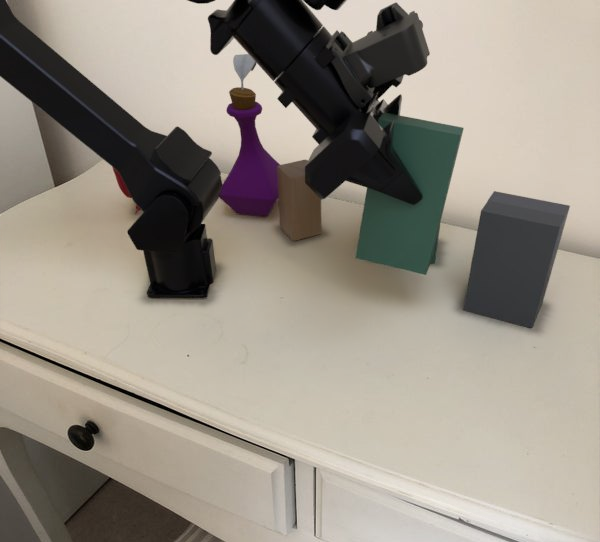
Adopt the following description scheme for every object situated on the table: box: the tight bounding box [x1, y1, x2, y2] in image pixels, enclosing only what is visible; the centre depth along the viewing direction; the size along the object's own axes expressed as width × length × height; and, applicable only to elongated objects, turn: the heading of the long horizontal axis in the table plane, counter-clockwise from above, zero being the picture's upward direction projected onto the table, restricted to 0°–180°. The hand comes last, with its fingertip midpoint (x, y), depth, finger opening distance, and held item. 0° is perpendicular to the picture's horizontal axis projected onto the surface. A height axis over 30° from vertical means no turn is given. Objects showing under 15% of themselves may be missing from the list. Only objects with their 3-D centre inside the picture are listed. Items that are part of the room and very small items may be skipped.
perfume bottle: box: [219, 53, 281, 218], centre depth 77 cm, size 8×8×18 cm
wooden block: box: [277, 159, 322, 242], centre depth 76 cm, size 4×4×8 cm
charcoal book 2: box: [487, 190, 571, 314], centre depth 63 cm, size 7×2×11 cm, turn 62°
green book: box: [355, 113, 464, 276], centre depth 58 cm, size 7×2×13 cm, turn 72°
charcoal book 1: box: [462, 200, 565, 329], centre depth 61 cm, size 7×2×11 cm, turn 62°
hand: (420, 194), depth 58 cm, fingers closed on green book, 2 cm apart
